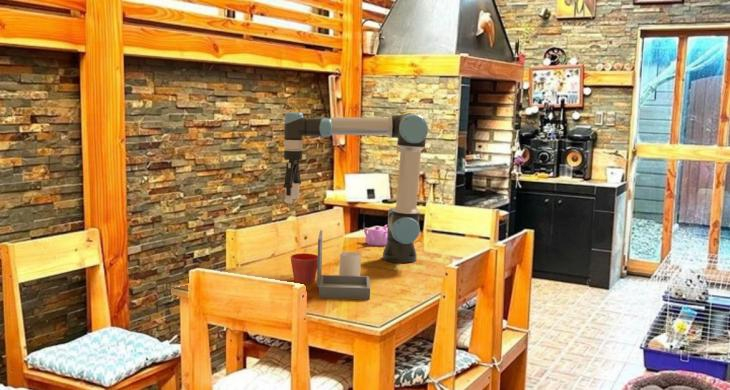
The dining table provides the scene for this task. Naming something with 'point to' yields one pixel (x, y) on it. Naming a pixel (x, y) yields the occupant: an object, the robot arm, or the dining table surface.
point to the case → (340, 282)
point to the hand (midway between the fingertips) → (292, 201)
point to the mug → (350, 263)
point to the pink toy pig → (376, 236)
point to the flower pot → (304, 267)
